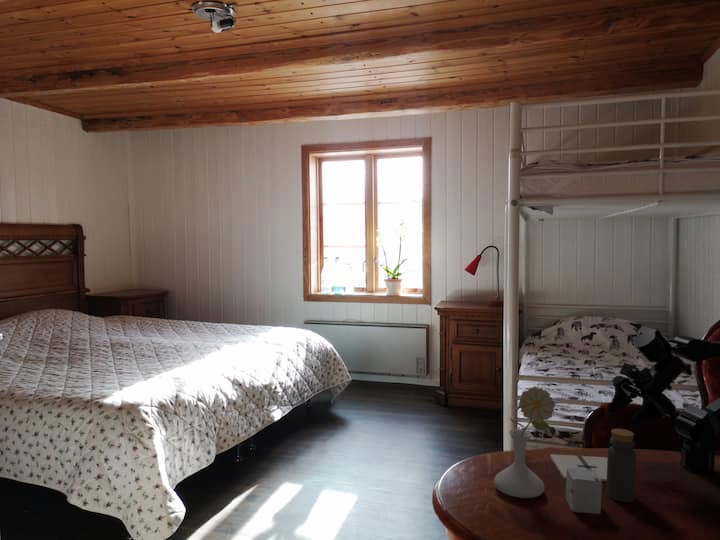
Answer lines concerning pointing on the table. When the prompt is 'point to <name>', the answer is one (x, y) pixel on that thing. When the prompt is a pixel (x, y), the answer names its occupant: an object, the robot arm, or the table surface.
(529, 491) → the flower in vase
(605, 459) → the letter card
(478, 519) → the table surface
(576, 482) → the skincare box
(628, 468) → the bottle
